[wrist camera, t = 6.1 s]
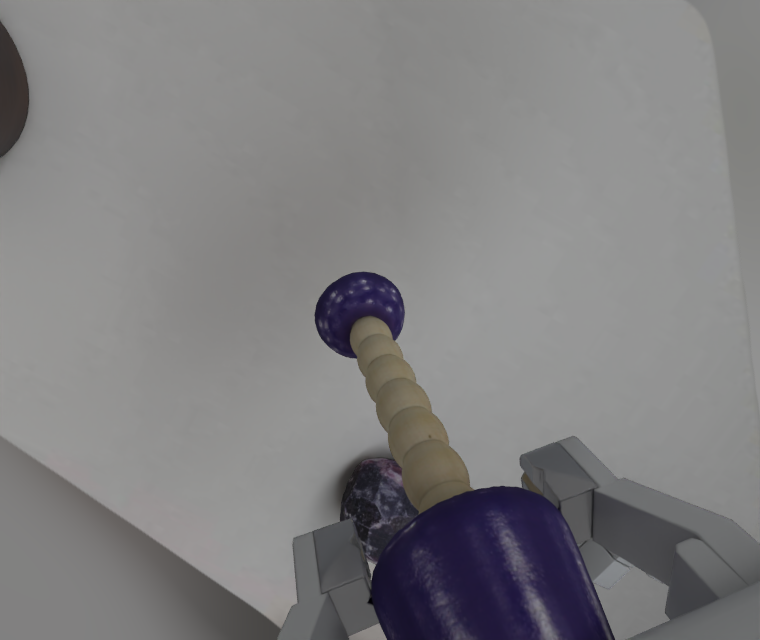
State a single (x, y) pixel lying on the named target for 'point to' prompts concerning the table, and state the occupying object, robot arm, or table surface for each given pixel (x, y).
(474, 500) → the toy lamp
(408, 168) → the table surface
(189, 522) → the table surface
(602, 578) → the grey stepped block
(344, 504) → the mineral specimen
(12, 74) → the wooden drum
